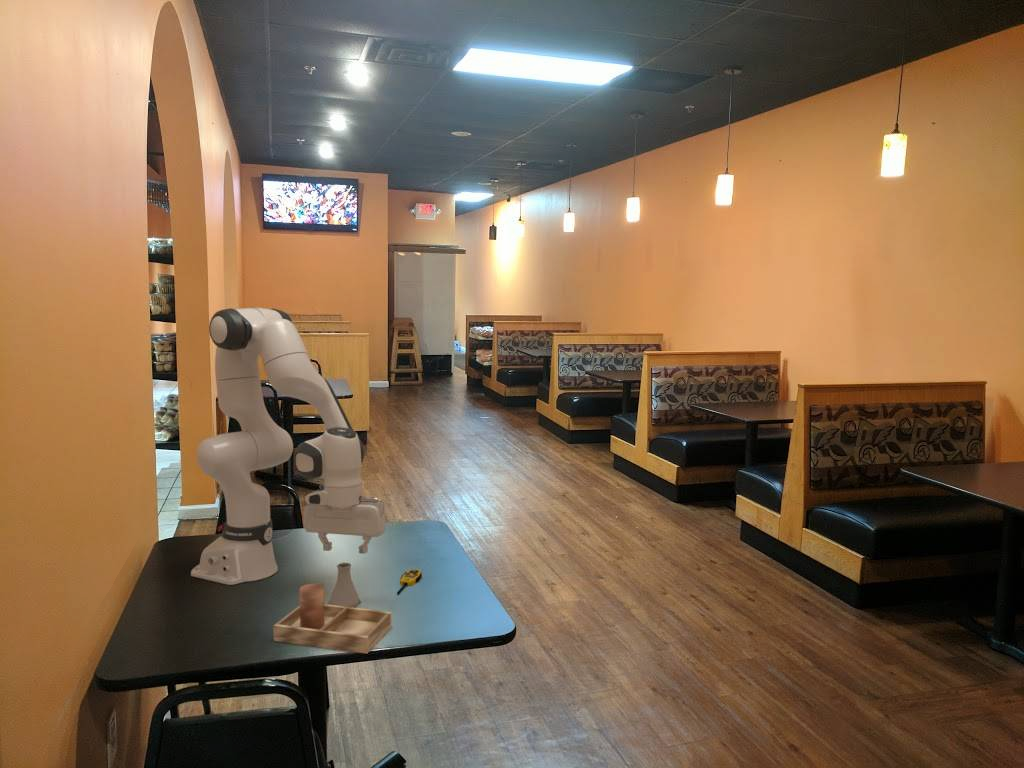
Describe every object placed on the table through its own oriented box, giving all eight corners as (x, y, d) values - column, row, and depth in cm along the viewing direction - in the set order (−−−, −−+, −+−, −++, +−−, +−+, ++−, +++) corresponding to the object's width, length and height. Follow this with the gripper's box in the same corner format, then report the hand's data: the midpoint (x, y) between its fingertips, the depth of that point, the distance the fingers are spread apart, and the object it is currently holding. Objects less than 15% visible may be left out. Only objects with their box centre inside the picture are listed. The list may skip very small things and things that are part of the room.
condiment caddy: (273, 640, 157) (272, 596, 156) (304, 615, 169) (303, 574, 168) (367, 653, 152) (366, 608, 150) (391, 626, 164) (391, 584, 163)
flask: (344, 613, 171) (344, 572, 170) (323, 606, 175) (322, 566, 174) (365, 602, 177) (365, 563, 176) (344, 595, 181) (344, 557, 180)
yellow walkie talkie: (425, 568, 196) (406, 589, 181) (425, 575, 196) (406, 597, 182) (408, 567, 197) (388, 588, 182) (408, 573, 197) (388, 595, 182)
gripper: (389, 494, 174) (390, 550, 175) (312, 490, 178) (314, 544, 180) (378, 501, 167) (379, 559, 169) (298, 496, 172) (301, 552, 174)
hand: (345, 551), depth 174 cm, fingers open, 8 cm apart
